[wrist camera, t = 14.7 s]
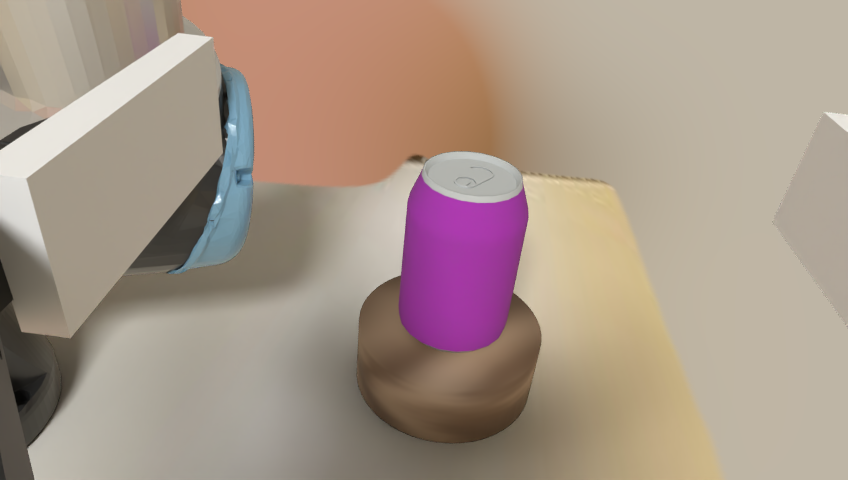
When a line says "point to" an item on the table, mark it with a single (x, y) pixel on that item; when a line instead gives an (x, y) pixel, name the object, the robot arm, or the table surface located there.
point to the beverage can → (461, 250)
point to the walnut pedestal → (443, 374)
